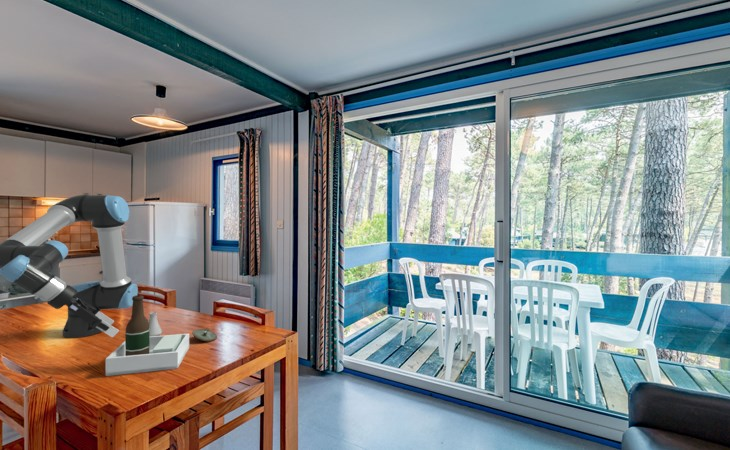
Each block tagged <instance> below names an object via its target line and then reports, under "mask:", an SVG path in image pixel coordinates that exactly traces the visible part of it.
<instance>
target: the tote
mask: <svg viewBox="0 0 730 450" xmlns="http://www.w3.org/2000/svg"><path fill="white" fill-rule="evenodd" d="M173 335H174V334H167V335H157V336H151V337H150V351H149V354H142V355H131V356H125V341H123V342H122V343H121V344H120V345H118V346H117V348H116V349H115V350H113V351H112V352H111V353H110V354H109V355H108V356H107V357H106V358H105V377H110V376H120V375H121V376H122V375H129V374H139V373H141V374H142V373H149V372H156V371H157V372H158V371H168V370H177V369H178V368H179V367H180V366H181V364H182V362H183V360H184V358H185V356H186V354H187V352H188V351H189V349H190V333H177V334H176V333H175V335H182V337H181V343H180V345H179V346H178V348H177V350H176V351H174V352H163V353H153V349H154V348H155V347H156V345H157V344H158V343H159V342H160V340H161V339H162V338H163V337H164V336H173Z"/></svg>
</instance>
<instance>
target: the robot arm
mask: <svg viewBox="0 0 730 450" xmlns="http://www.w3.org/2000/svg"><path fill="white" fill-rule="evenodd" d="M46 211H47V212H46V213H44V214H42V215H41V216H40V217H38V218H37V219H35V220H34V221H33V222H30V223H29V224H28V225H26V226H25V227H23V228H22V229H21V230H18V232H16V233H14V234H13V235H11V236H10V237H8V238H7V239H5V240H3V241H2V242H0V276H2V277H3V278H4V279H6V280H7V281H8V282H9V283H12V284H14V285H16V286H17V287H19V288H21V289H22V290H24V291H26V292H27V293H28V294H31V295H33V296H34V299H35V300H38V299H39V300H41V301H42V302H47V305H49V306H51V307H52V308H54V309H55V310H59V309H61V308H63V307H64V306H66V307H67V319H66V322H65V323H64V327H63V330H62V337H63V338H70V339H73V338H74V339H75V338H84V337H89V336H94V335H96V334H99V333H105V334H106V335H108V336H109V337H110V338H114V337H115V336H116V335H117V334H118V333H119V332H120V330H119V329H118V328H116V327H114V326H113V324H114V322H115V320H114V319H112V318H110V317H109V316H107V315H106V314H104V313H103V312H102V311H101V310H123V309H124V310H125V309H129V308H132V306H133V300H132V298H133V296H136V295H138V292H139V291H138V290H139V288H138V285H137V283H132V278H131V277H129V276H127V268H126V259H125V250H124V241H123V235H122V234H123V233H122V228H123V227H124V226H125V224H126V223H125V222H127V221H128V220H129V219H130V208H129V205H128V203H127V201H126V200H125V199H124V198H123V197H121V196H119V195H109V194H107V195H106V194H105V195H104V194H93V195H92V194H79V195H74V196H71V197H68V198H65V199H63V200H60V201H59V202H57V203H55V204H54V205H53V204H52V206H50V207H49V208H48V209H47V210H46ZM78 222H79V223H80V222H88V223H89V222H91V227H92V228H93V229H94V230H95V231H96V233H97V238H98V246H99V252H100V261H101V268H102V276H103V280H102V281H100V280H93V281H87V282H86V281H85V282H82V283H76V284H72V285H70V284H67V282H65V281H64V280H62V279H61V278H60V277H58V276H57V275H55V274H53V273H52V271H53V270H54V269H55V268H56V267H57V266H58V265H59V264H61V263H62V262H63V261H64V259H66V257H67V256H68V254H69V249H68V247H67V245H66V244H65V243H63V242H61V241H59V240H54V239H53V240H49V239H50V238H52V237H53V236H54V235H55V234H56V233H58V232H59V231H60V230H62V229H63V228H64V227H68V226H71V225H73V224H74V223H78Z"/></svg>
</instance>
